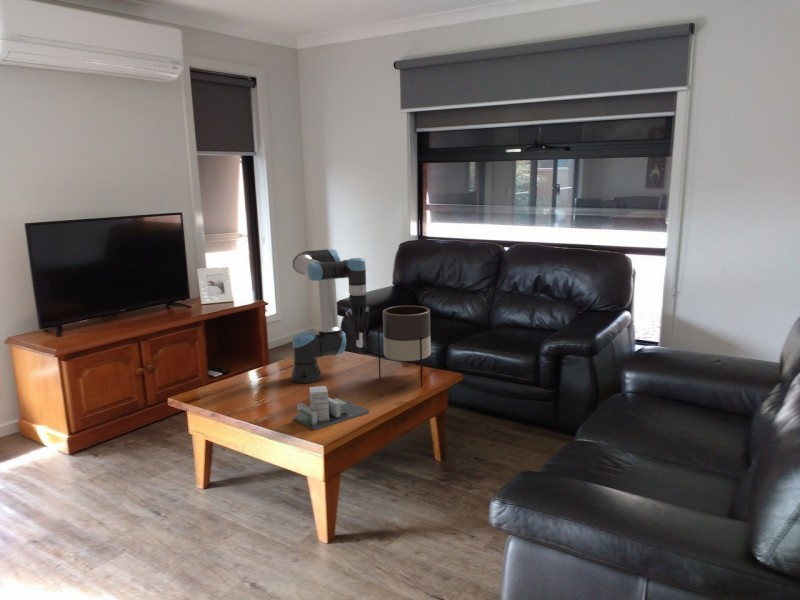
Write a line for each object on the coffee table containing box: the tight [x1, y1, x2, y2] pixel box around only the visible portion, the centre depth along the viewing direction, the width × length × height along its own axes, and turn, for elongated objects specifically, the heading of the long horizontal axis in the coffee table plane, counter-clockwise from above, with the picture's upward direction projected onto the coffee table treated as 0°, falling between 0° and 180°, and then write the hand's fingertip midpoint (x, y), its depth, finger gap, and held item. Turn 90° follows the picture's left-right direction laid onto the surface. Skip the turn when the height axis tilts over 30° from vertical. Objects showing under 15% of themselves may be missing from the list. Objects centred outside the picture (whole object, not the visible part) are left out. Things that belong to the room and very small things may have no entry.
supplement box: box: [308, 385, 329, 421], centre depth 251 cm, size 7×7×13 cm
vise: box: [292, 400, 370, 431], centre depth 256 cm, size 16×28×7 cm, turn 130°
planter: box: [377, 305, 432, 388], centre depth 299 cm, size 26×25×35 cm
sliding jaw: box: [328, 396, 348, 417], centre depth 257 cm, size 12×7×6 cm, turn 40°
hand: (359, 346), depth 265 cm, fingers closed
